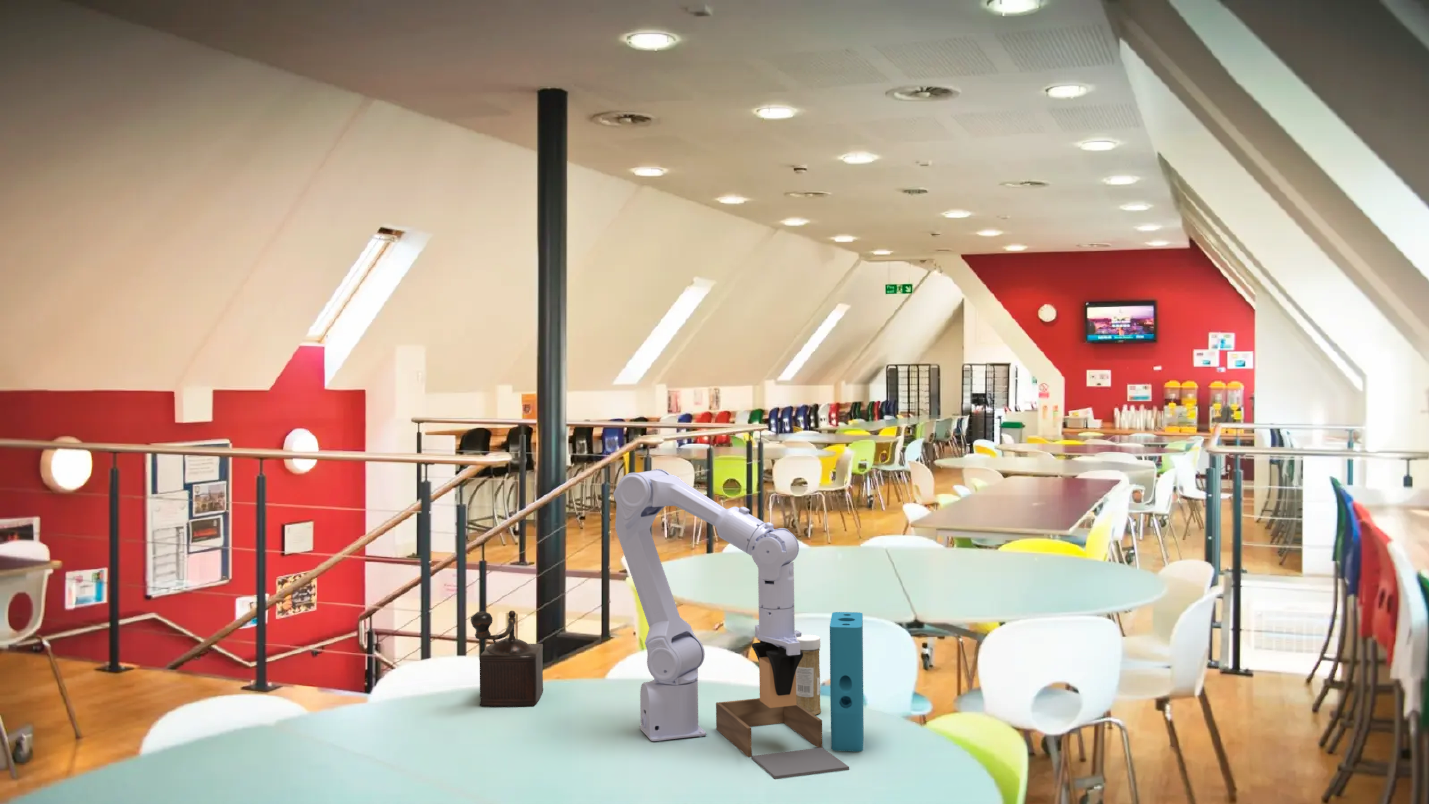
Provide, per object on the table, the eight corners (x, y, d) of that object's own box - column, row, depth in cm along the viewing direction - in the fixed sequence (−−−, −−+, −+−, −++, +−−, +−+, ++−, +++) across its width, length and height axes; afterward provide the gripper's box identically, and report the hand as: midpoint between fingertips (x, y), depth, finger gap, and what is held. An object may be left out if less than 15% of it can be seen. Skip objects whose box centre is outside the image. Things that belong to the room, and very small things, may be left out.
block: (862, 755, 183) (861, 627, 182) (830, 754, 183) (829, 627, 183) (863, 732, 195) (862, 612, 194) (833, 731, 195) (832, 611, 195)
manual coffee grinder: (486, 692, 223) (485, 598, 222) (544, 691, 222) (543, 597, 222) (468, 715, 207) (467, 614, 207) (531, 715, 207) (529, 613, 207)
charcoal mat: (774, 778, 172) (774, 776, 172) (751, 758, 182) (751, 755, 182) (849, 769, 176) (849, 766, 176) (822, 749, 186) (822, 747, 186)
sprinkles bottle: (826, 712, 206) (825, 636, 206) (809, 717, 203) (808, 640, 203) (806, 707, 210) (806, 632, 209) (789, 712, 207) (788, 636, 206)
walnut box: (747, 757, 182) (747, 728, 182) (716, 729, 197) (715, 702, 197) (822, 748, 186) (822, 720, 186) (785, 721, 201) (785, 695, 201)
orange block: (770, 708, 185) (769, 663, 185) (759, 700, 189) (759, 657, 189) (796, 705, 186) (795, 661, 186) (785, 698, 190) (785, 655, 190)
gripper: (817, 612, 182) (818, 699, 182) (782, 596, 195) (783, 677, 196) (775, 615, 179) (776, 704, 180) (742, 599, 193) (744, 681, 193)
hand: (777, 690), depth 187 cm, fingers closed on orange block, 4 cm apart
